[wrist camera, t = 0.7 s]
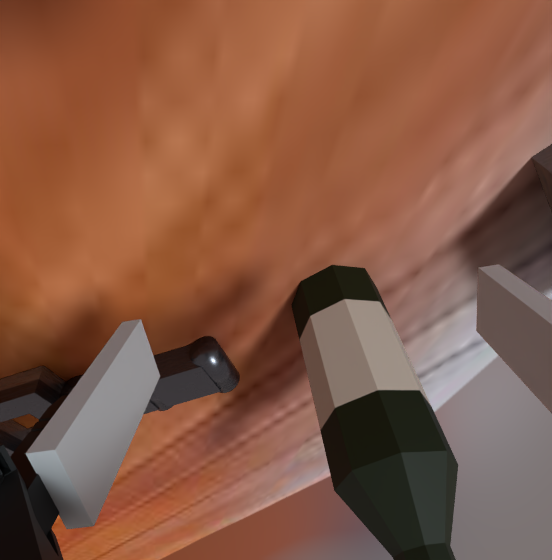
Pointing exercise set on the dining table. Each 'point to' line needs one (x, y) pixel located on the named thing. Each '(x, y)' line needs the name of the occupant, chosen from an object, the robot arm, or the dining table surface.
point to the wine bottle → (375, 416)
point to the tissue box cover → (545, 171)
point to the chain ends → (169, 391)
